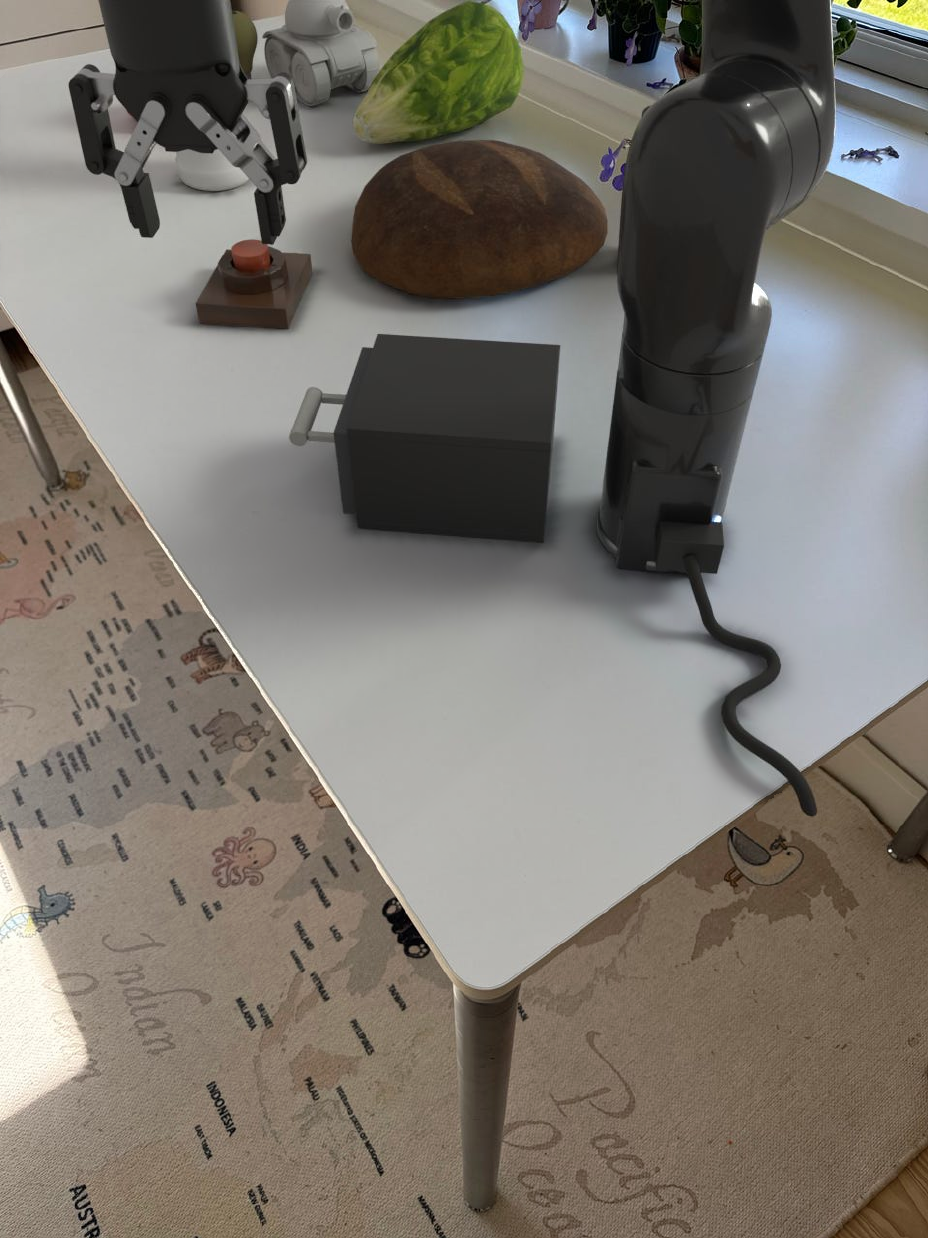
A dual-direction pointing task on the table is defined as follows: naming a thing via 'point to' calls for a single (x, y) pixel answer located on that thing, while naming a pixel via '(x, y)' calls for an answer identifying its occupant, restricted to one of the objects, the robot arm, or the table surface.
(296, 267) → the brown button base
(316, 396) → the drawer
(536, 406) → the cabinet
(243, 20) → the light bulb
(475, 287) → the bread
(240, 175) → the vodka
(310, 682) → the table surface
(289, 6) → the toy tank
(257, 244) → the button
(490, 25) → the lettuce
